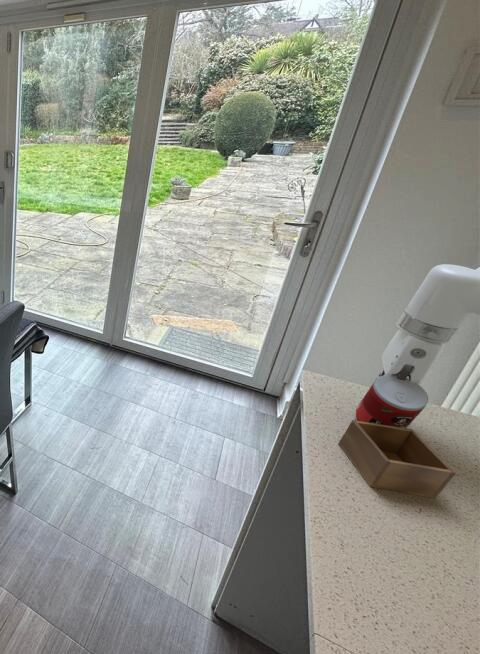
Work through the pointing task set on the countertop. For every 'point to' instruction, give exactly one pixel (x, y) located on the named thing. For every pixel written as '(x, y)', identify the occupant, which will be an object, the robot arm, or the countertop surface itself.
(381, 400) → the canned food
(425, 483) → the box
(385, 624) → the countertop surface
